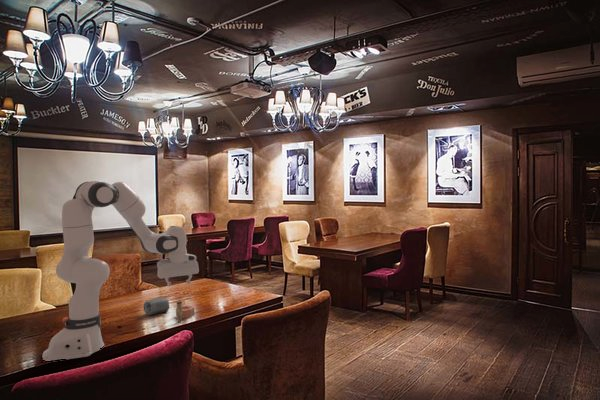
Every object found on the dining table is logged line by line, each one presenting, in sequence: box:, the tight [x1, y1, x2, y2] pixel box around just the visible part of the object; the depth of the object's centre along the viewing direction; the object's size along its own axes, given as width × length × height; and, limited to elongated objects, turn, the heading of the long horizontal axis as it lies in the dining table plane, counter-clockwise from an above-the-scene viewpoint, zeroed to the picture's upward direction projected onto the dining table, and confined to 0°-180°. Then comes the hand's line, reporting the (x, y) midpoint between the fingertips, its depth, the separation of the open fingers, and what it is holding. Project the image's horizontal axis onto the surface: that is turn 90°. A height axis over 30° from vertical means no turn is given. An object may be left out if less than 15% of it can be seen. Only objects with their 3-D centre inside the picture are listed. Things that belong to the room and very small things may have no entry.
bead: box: [175, 304, 196, 319], centre depth 211 cm, size 9×9×4 cm
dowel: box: [176, 300, 183, 323], centre depth 201 cm, size 2×2×10 cm
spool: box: [143, 296, 170, 316], centre depth 215 cm, size 14×10×10 cm
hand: (178, 284), depth 201 cm, fingers open, 8 cm apart
